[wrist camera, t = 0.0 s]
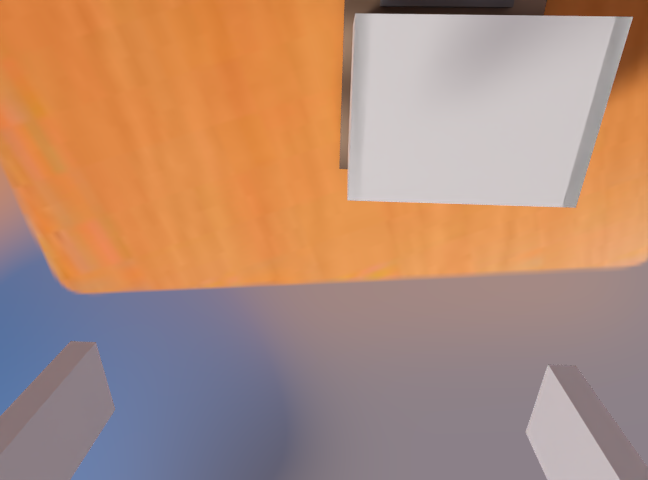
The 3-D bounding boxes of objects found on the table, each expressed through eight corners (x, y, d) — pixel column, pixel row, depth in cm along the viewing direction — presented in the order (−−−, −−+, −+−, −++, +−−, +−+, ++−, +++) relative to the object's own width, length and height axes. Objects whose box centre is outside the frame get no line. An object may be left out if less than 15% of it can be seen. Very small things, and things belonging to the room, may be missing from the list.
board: (350, -186, 27) (350, -204, 25) (580, -188, 27) (598, -207, 25) (339, 165, 38) (339, 171, 36) (504, 169, 37) (513, 176, 35)
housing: (352, 24, 31) (355, 13, 21) (532, 26, 31) (633, 16, 20) (348, 152, 36) (347, 200, 25) (505, 157, 35) (575, 207, 24)
